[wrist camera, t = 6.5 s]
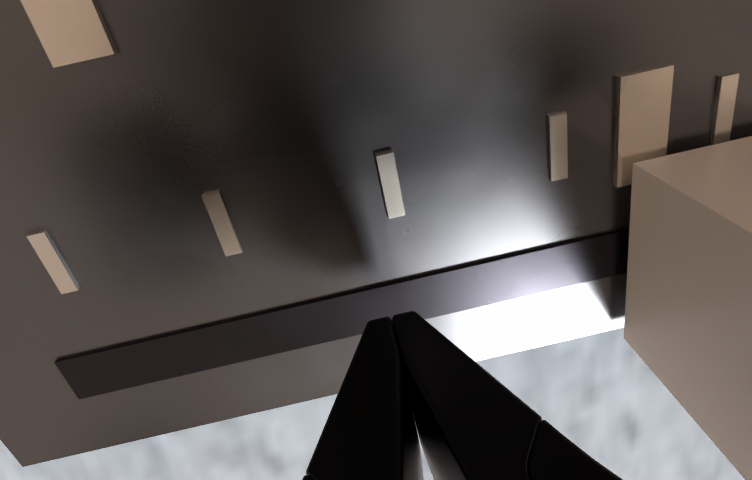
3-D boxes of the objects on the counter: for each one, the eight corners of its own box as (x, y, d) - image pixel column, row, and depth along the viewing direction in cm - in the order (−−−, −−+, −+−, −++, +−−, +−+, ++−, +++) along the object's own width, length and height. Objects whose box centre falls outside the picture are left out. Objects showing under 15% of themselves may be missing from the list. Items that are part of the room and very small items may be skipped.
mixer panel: (964, -657, 6) (1161, -845, 5) (772, 247, 12) (832, 282, 11) (-486, -339, 6) (-733, -435, 5) (53, 413, 12) (19, 472, 11)
